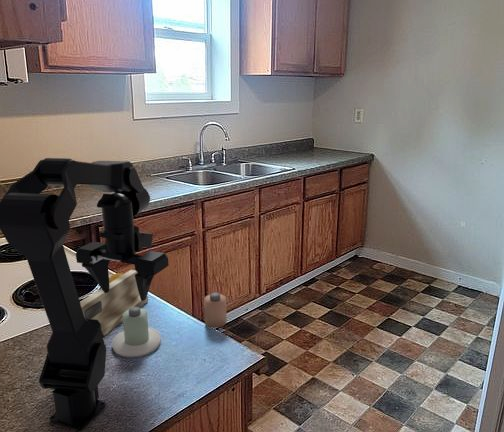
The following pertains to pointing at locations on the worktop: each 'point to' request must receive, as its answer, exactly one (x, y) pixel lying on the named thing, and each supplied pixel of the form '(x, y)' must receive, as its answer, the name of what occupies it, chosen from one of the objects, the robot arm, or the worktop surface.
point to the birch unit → (113, 302)
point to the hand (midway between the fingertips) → (125, 296)
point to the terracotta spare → (215, 310)
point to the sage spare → (135, 326)
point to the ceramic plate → (139, 350)
